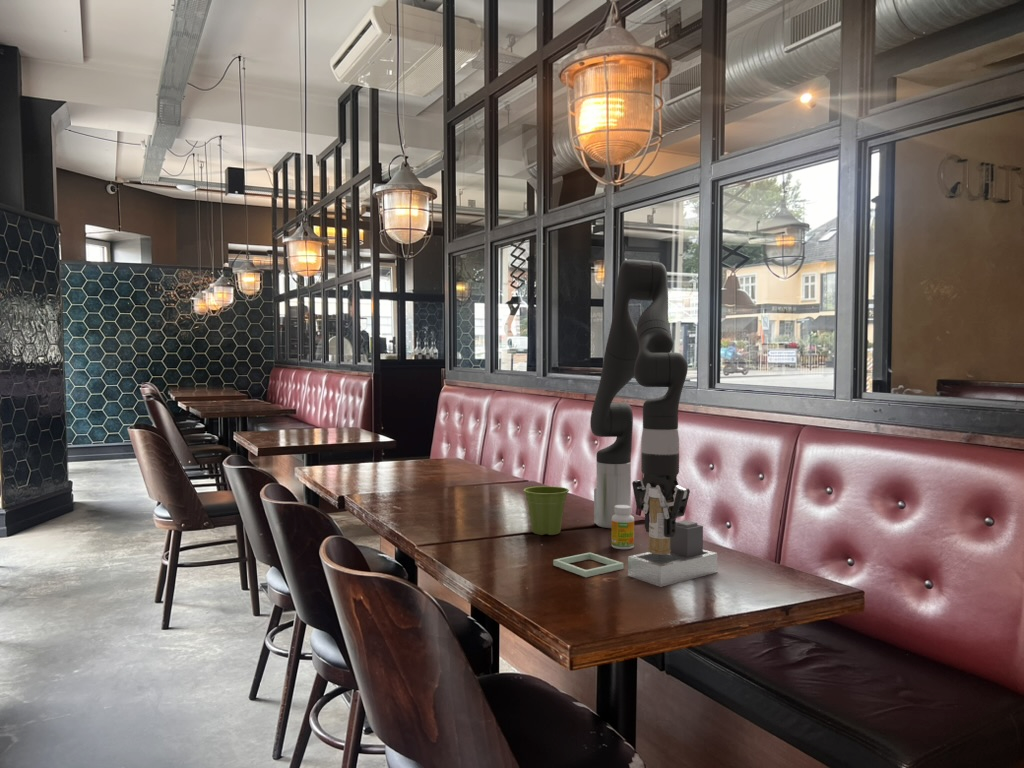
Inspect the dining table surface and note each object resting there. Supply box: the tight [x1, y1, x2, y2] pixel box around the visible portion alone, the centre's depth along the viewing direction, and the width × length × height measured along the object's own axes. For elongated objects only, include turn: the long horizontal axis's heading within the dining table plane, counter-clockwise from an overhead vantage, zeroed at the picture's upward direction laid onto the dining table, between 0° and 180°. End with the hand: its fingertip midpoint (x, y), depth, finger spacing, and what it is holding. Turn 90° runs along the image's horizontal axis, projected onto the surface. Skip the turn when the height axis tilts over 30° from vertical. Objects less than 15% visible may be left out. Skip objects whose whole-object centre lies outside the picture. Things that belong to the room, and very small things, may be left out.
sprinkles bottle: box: [648, 487, 671, 555], centre depth 142 cm, size 5×5×14 cm
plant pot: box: [523, 485, 570, 536], centre depth 181 cm, size 12×12×11 cm
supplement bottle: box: [610, 505, 635, 550], centre depth 166 cm, size 5×5×10 cm
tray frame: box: [552, 552, 624, 578], centre depth 150 cm, size 11×11×1 cm
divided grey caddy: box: [627, 549, 718, 588], centre depth 144 cm, size 9×17×4 cm, turn 125°
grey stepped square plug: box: [670, 519, 704, 558], centre depth 147 cm, size 5×5×10 cm
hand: (659, 533), depth 142 cm, fingers closed on sprinkles bottle, 4 cm apart
